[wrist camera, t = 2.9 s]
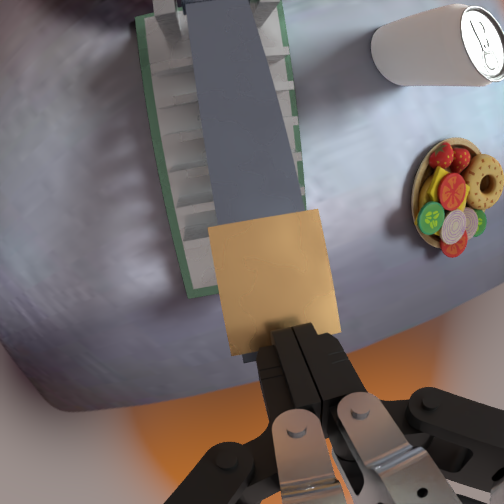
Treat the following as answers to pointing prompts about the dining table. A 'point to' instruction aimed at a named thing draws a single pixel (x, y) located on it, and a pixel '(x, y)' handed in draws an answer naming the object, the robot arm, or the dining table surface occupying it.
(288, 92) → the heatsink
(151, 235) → the dining table surface
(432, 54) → the can
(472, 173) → the toy food set
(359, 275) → the dining table surface
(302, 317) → the grey and tan bar
